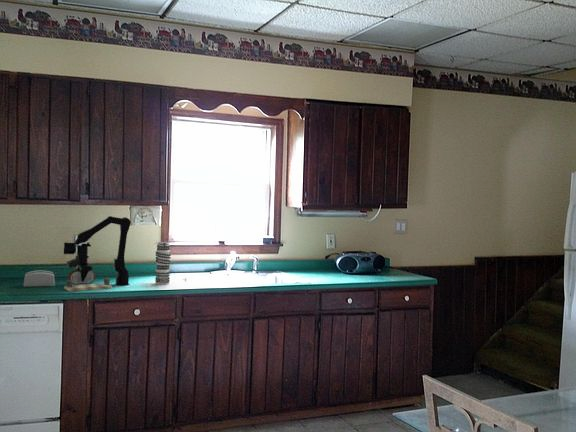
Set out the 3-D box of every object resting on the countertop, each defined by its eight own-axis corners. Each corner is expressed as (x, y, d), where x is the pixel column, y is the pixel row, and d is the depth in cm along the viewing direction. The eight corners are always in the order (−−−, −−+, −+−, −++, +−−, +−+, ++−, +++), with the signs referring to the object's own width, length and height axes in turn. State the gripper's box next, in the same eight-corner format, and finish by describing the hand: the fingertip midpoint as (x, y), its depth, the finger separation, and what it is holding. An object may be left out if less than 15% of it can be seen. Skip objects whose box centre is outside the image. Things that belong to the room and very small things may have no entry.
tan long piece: (106, 286, 362) (107, 276, 362) (112, 288, 354) (112, 279, 354) (64, 288, 348) (64, 279, 348) (68, 291, 341) (68, 281, 340)
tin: (94, 283, 366) (94, 268, 366) (95, 283, 364) (96, 269, 363) (67, 284, 358) (68, 270, 357) (69, 285, 355) (69, 270, 355)
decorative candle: (153, 282, 380) (154, 241, 379) (168, 282, 384) (169, 241, 383) (155, 284, 372) (156, 243, 371) (171, 284, 375) (172, 243, 374)
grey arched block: (54, 284, 362) (55, 268, 358) (55, 288, 358) (55, 272, 354) (23, 284, 355) (23, 269, 352) (23, 289, 351) (23, 273, 348)
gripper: (63, 252, 363) (63, 279, 364) (72, 256, 348) (72, 284, 349) (82, 252, 369) (82, 278, 370) (92, 255, 354) (92, 283, 355)
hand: (81, 281), depth 361 cm, fingers closed on tin, 3 cm apart
